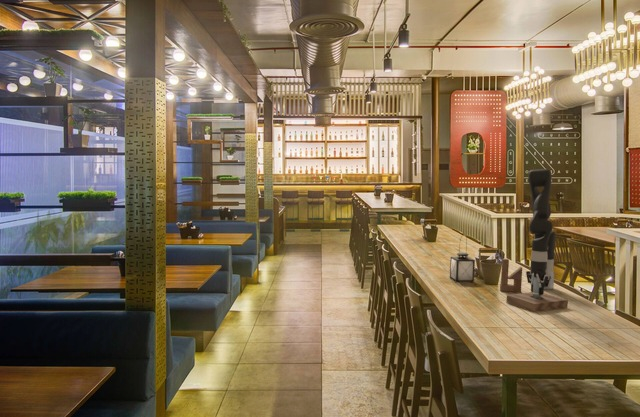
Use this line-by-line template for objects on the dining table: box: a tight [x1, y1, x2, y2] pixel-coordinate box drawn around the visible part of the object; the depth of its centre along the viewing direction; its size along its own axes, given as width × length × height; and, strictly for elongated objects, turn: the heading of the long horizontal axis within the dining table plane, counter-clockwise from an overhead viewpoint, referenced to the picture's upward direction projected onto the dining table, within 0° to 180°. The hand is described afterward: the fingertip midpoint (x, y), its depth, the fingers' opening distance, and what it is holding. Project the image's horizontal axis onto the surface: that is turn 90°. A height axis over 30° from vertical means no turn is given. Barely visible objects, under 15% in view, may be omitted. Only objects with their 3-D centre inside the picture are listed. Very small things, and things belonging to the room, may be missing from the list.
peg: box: [532, 277, 542, 299], centre depth 250 cm, size 4×4×12 cm
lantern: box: [449, 234, 476, 283], centre depth 306 cm, size 11×11×28 cm
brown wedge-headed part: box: [499, 258, 523, 293], centre depth 279 cm, size 4×11×18 cm, turn 79°
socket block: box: [506, 291, 569, 313], centre depth 251 cm, size 22×18×4 cm
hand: (537, 293), depth 251 cm, fingers closed on peg, 4 cm apart
